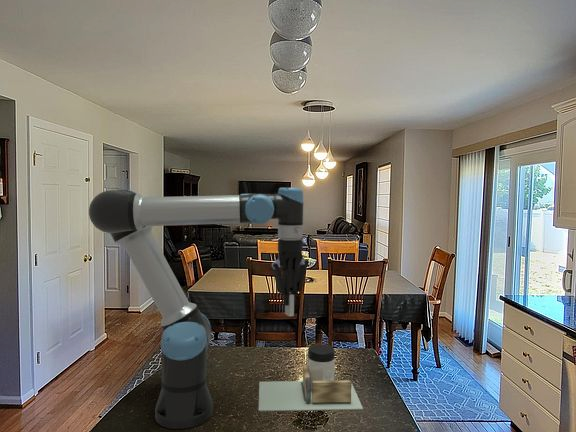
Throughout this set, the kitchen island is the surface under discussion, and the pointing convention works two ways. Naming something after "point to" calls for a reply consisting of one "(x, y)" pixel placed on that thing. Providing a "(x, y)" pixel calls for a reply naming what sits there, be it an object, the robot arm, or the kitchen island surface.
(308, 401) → the hinge post
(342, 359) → the kitchen island surface
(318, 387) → the fixed panel
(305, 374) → the fence panel
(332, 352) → the jar
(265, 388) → the board
